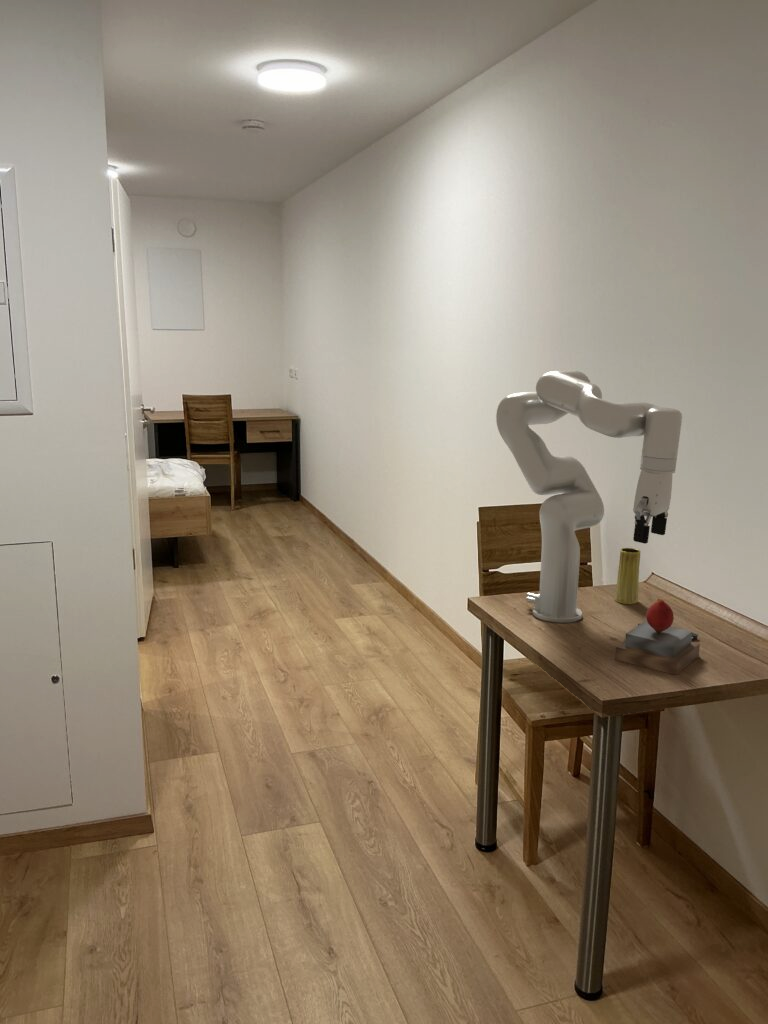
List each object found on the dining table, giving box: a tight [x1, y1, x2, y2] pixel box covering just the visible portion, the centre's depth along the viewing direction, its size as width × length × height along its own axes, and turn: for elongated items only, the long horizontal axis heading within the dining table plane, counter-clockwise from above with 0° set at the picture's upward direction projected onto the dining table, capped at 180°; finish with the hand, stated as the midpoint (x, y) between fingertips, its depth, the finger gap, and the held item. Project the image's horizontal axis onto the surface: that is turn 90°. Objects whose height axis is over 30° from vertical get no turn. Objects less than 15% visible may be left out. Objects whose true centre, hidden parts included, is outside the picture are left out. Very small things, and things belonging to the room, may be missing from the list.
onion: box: [645, 597, 674, 633], centre depth 195 cm, size 6×6×8 cm
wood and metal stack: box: [614, 620, 701, 676], centre depth 196 cm, size 14×14×6 cm
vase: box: [614, 547, 641, 605], centre depth 235 cm, size 6×6×14 cm
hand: (649, 537), depth 198 cm, fingers open, 9 cm apart
